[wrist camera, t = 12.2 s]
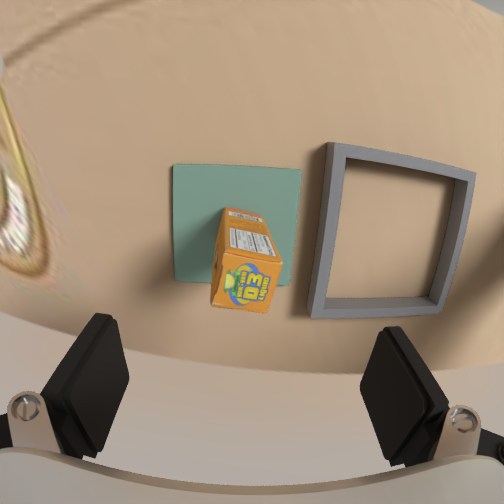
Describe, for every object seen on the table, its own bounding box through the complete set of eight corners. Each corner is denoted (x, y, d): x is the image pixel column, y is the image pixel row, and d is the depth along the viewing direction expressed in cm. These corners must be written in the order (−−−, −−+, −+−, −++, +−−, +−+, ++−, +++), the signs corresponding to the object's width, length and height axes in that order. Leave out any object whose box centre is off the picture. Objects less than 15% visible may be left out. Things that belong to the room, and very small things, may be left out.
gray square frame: (463, 169, 23) (476, 172, 22) (432, 304, 29) (441, 313, 27) (327, 142, 23) (334, 142, 21) (306, 307, 28) (310, 318, 26)
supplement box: (256, 252, 25) (266, 320, 16) (215, 242, 25) (202, 307, 15) (266, 214, 24) (285, 264, 15) (224, 204, 24) (215, 249, 14)
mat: (300, 169, 23) (301, 170, 23) (288, 283, 27) (289, 285, 26) (174, 163, 23) (173, 164, 22) (176, 278, 26) (175, 280, 26)
